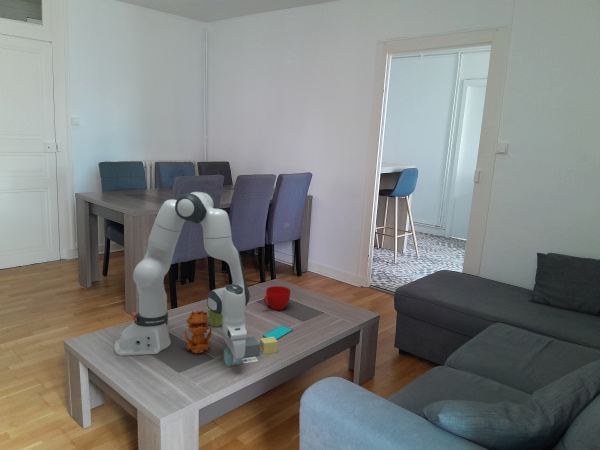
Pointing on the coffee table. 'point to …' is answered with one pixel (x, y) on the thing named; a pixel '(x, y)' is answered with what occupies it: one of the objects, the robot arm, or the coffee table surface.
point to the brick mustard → (268, 345)
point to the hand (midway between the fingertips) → (232, 358)
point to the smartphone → (278, 332)
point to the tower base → (252, 347)
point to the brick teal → (230, 358)
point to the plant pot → (215, 318)
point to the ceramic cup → (277, 297)
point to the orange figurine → (198, 332)
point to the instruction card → (249, 360)
